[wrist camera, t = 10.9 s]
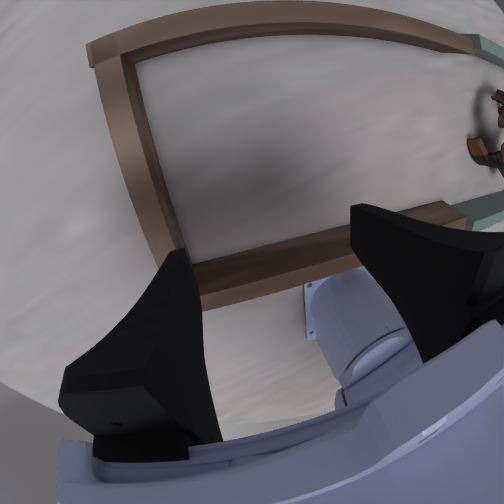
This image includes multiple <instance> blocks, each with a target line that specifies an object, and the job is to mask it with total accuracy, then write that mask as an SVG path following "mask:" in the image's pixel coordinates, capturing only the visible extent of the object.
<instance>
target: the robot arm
mask: <svg viewBox="0 0 504 504" xmlns="http://www.w3.org/2000/svg"><path fill="white" fill-rule="evenodd" d="M350 246H351V248H352V250H353V251H354V253H355V255H356V256H357V258H358V259H359V261H360V262H361V264H362V265H363V266H361V267H358V268H355V269H352V270H349V271H346V272H343V273H339V274H336V275H333V276H330V277H326V278H323V279H320V280H317V281H313V282H310V284H309V283H307V284H304V300H305V317H306V337H307V340H308V341H312V340H315V339H317V341H318V343H319V345H320V347H321V349H322V351H323V353H324V355H325V358H326V360H327V362H328V364H329V366H330V368H331V370H332V372H333V374H334V376H335V377H336V379H337V380H338V381H339V382H340V384H341V386H342V388H341V389H339V390H338V391H337V392H336V398H335V411H332V412H330V413H327V414H324V415H321V416H319V417H316V418H313V419H310V420H307V421H303V422H301V423H297V424H294V425H291V426H287V427H284V428H280V429H277V430H273V431H269V432H265V433H261V434H257V435H253V436H248V437H244V438H239V439H234V440H229V441H223V439H222V435H221V432H220V428H219V424H218V420H217V416H216V412H215V408H214V404H213V400H212V395H211V391H210V386H209V381H208V376H207V370H206V365H205V358H204V345H203V323H202V305H201V298H200V292H199V286H198V284H197V281H196V278H195V276H194V273H193V270H192V267H191V265H190V262H189V259H188V256H187V254H186V251H185V248H180V249H177V250H173V251H170V252H169V254H168V255H167V257H166V259H165V260H164V262H163V264H162V265H161V267H160V269H159V270H158V272H157V273H156V275H155V277H154V278H153V280H152V281H151V283H150V284H149V286H148V287H147V289H146V290H145V291H144V293H143V294H142V296H141V297H140V299H139V300H138V301H137V303H136V304H135V305H134V306H133V307H132V309H131V310H130V311H129V312H128V313H127V315H126V316H125V317H124V318H123V319H122V320H121V321H120V322H119V323H118V324H117V325H116V326H115V327H114V328H113V329H112V330H111V331H110V332H109V333H108V334H107V335H106V336H105V337H104V338H103V339H102V340H101V341H99V342H98V343H97V344H96V345H95V346H94V347H92V348H91V349H90V350H89V351H87V352H86V353H85V354H83V355H82V356H81V357H79V358H78V359H76V360H75V361H74V362H72V363H71V364H69V365H68V366H66V368H65V371H64V375H63V380H62V384H61V389H60V393H59V398H58V403H59V407H60V408H61V410H62V411H63V412H64V414H65V415H66V416H67V417H69V418H70V419H71V420H73V421H74V422H75V423H77V424H78V425H79V426H81V427H82V428H84V429H85V430H87V431H88V432H90V433H91V434H93V435H94V440H93V443H90V442H87V441H79V440H66V439H61V440H59V448H58V459H57V477H56V478H57V479H56V502H57V503H58V504H504V232H479V231H469V230H462V229H455V228H450V227H444V226H440V225H436V224H432V223H428V222H424V221H421V220H417V219H414V218H411V217H408V216H405V215H401V214H398V213H395V212H392V211H389V210H386V209H383V208H380V207H376V206H373V205H369V204H363V203H361V204H357V205H352V206H350ZM375 280H376V282H377V283H378V284H379V285H380V286H381V288H382V289H383V290H384V291H385V293H386V294H387V295H388V296H389V298H390V299H391V300H390V299H389V298H388V297H387V296H386V294H385V293H384V292H383V291H382V289H381V288H380V287H379V286H378V285H377V284H376V282H375ZM308 284H309V285H308ZM391 301H392V302H393V303H392V302H391Z"/></svg>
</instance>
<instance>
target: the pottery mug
mask: <svg viewBox="0 0 504 504" xmlns="http://www.w3.org/2000/svg"><path fill="white" fill-rule="evenodd" d="M491 99H492V100H495V101H498V102H499V103H501V104H502V105H503V106H501V107H500V108H499V109H498V112H499V113H500V116H499V117H498V126H499V128H504V92H503V91H501V90H498V89H497V91H496V94H494V95H493V96H492V97H491ZM467 144H468V147H469V149H470V152H471V153H472V155H473V157H474V159H475V160H476V162H477V163H478V164H479V165H485V166H490V167H493V168H497V169H499V171H500V173H501V174H502V176H503V177H504V143H503V144H502V145H501V151H497V152H494V153H489V152H488V150H487V149H486V147H485V145H484V143H483V140H482V138H480V137H479V138H475V139H467Z"/></svg>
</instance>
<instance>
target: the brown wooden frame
mask: <svg viewBox="0 0 504 504" xmlns="http://www.w3.org/2000/svg"><path fill="white" fill-rule="evenodd" d="M299 34H318V35H342V36H355V37H365V38H373V39H381V40H387V41H393V42H399V43H404V44H409V45H414V46H419V47H423V48H427V49H431V50H435V51H439V52H442V53H459V54H471V55H474V52H473V46H472V40H471V39H469V38H467V37H465V36H462V35H460V34H457V33H455V32H453V31H450V30H447V29H445V28H442V27H439V26H436V25H434V24H431V23H428V22H424V21H421V20H418V19H415V18H411V17H407V16H404V15H400V14H396V13H392V12H387V11H383V10H378V9H373V8H367V7H361V6H355V5H348V4H340V3H330V2H318V1H294V0H278V1H254V2H242V3H232V4H224V5H217V6H210V7H204V8H198V9H193V10H188V11H184V12H179V13H175V14H171V15H167V16H163V17H159V18H156V19H152V20H149V21H145V22H142V23H139V24H136V25H133V26H130V27H127V28H124V29H122V30H119V31H116V32H114V33H111V34H109V35H106V36H104V37H101V38H99V39H97V40H94V41H92V42H90V43H88V44H86V50H87V56H88V61H89V66H90V67H91V68H94V69H95V74H96V79H97V83H98V88H99V92H100V96H101V101H102V105H103V109H104V113H105V116H106V120H107V124H108V128H109V131H110V135H111V138H112V142H113V145H114V149H115V152H116V155H117V158H118V162H119V165H120V168H121V171H122V174H123V177H124V180H125V183H126V186H127V189H128V192H129V195H130V197H131V200H132V203H133V206H134V208H135V211H136V214H137V217H138V219H139V222H140V224H141V227H142V230H143V232H144V235H145V237H146V240H147V242H148V245H149V247H150V249H151V252H152V254H153V257H154V259H155V261H156V264H157V266H158V268H159V269H160V267H161V265H162V264H163V262H164V260H165V259H166V257H167V255H168V254H169V252H170V251H173V250H177V249H180V248H185V251H186V254H187V256H188V259H189V262H190V265H191V267H192V270H193V273H194V276H195V278H196V281H197V284H198V286H199V292H200V298H201V305H202V312H203V311H207V310H211V309H215V308H219V307H223V306H227V305H231V304H235V303H239V302H242V301H246V300H250V299H254V298H257V297H261V296H265V295H268V294H272V293H275V292H279V291H282V290H286V289H289V288H293V287H296V286H300V285H303V284H307V283H310V282H313V281H317V280H320V279H323V278H326V277H330V276H333V275H336V274H339V273H343V272H346V271H349V270H352V269H355V268H358V267H361V266H363V265H362V264H361V262H360V261H359V259H358V258H357V256H356V255H355V253H354V251H353V250H352V248H351V246H350V224H349V225H345V226H341V227H337V228H333V229H329V230H325V231H322V232H318V233H314V234H310V235H306V236H302V237H298V238H295V239H291V240H287V241H283V242H279V243H275V244H271V245H268V246H264V247H260V248H256V249H252V250H248V251H245V252H241V253H237V254H233V255H229V256H225V257H222V258H218V259H214V260H210V261H206V262H202V263H199V264H195V265H192V263H191V260H190V257H189V255H188V252H187V249H186V246H185V243H184V240H183V237H182V234H181V231H180V228H179V225H178V222H177V219H176V216H175V213H174V210H173V207H172V204H171V200H170V197H169V194H168V191H167V187H166V184H165V181H164V177H163V174H162V171H161V167H160V164H159V160H158V157H157V153H156V150H155V146H154V142H153V139H152V135H151V131H150V127H149V123H148V119H147V115H146V111H145V107H144V103H143V99H142V95H141V91H140V86H139V82H138V77H137V73H136V68H135V63H137V62H140V61H143V60H146V59H150V58H153V57H156V56H160V55H163V54H167V53H171V52H174V51H178V50H182V49H187V48H191V47H195V46H200V45H205V44H210V43H216V42H222V41H228V40H235V39H243V38H251V37H262V36H275V35H299ZM395 213H398V214H401V215H405V216H408V217H411V218H414V219H417V220H421V221H424V222H428V223H432V224H436V225H440V226H444V227H450V228H455V229H462V230H465V226H466V221H467V216H466V215H464V214H463V213H461V212H459V211H458V210H456V209H455V208H453V207H452V206H450V205H449V204H447V203H445V202H444V201H438V202H434V203H430V204H426V205H423V206H419V207H415V208H411V209H407V210H403V211H399V212H395Z"/></svg>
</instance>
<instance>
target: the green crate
mask: <svg viewBox="0 0 504 504" xmlns="http://www.w3.org/2000/svg"><path fill="white" fill-rule="evenodd" d="M460 35H462V36H465V37H467V38H469V39H471V40H472V46H473V52H474V55H475V56H478V57H480V58H482V59H485V60H487V61H489V62H491V63H494V64H496V65H498V66H500V67H502V68H504V48H503V47H501V46H499V45H498V44H496V43H494V42H492V41H491V40H489V39H487V38H485V37H483V36H481V35H479V34H460ZM452 207H453V208H455V209H456V210H458V211H459V212H461V213H463V214H464V215H466V216H467V221H466V226H465V230H469V231H480V230H483V229H485V228H487V227H490V226H492V225H494V224H496V223H498V222H501V221H503V220H504V191H501V192H498V193H494V194H491V195H487V196H484V197H480V198H477V199H473V200H470V201H466V202H463V203H459V204H456V205H452Z"/></svg>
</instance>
